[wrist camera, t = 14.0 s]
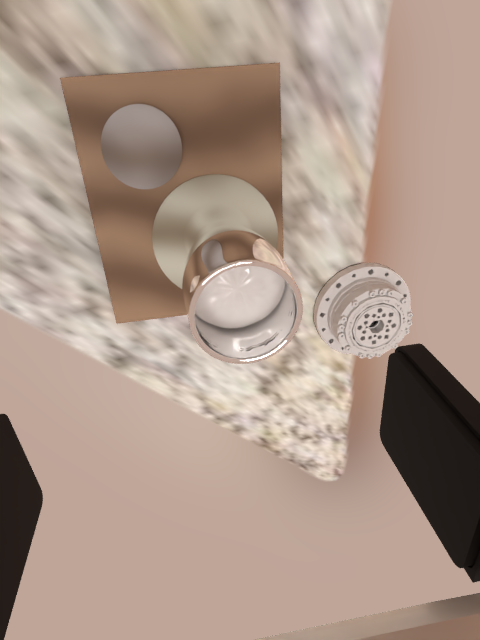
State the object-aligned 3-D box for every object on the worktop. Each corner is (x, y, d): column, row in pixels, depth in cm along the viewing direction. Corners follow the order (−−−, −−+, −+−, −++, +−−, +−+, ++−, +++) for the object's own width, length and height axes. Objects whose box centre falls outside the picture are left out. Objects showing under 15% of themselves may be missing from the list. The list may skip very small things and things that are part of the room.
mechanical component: (308, 350, 46) (394, 345, 48) (321, 373, 42) (414, 366, 44) (317, 263, 42) (412, 259, 43) (333, 280, 38) (437, 275, 39)
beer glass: (171, 203, 35) (174, 267, 22) (254, 191, 36) (304, 247, 23) (185, 280, 39) (195, 376, 26) (261, 269, 39) (308, 356, 26)
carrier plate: (63, 78, 32) (56, 77, 29) (276, 63, 33) (283, 61, 31) (117, 317, 41) (115, 329, 39) (281, 297, 43) (287, 307, 40)
